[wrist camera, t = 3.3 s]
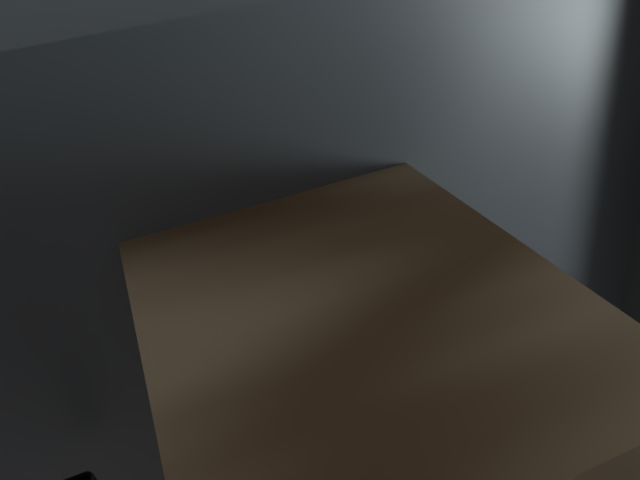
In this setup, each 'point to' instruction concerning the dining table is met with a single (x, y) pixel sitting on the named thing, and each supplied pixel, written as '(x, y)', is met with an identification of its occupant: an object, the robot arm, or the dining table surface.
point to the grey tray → (278, 163)
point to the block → (377, 344)
